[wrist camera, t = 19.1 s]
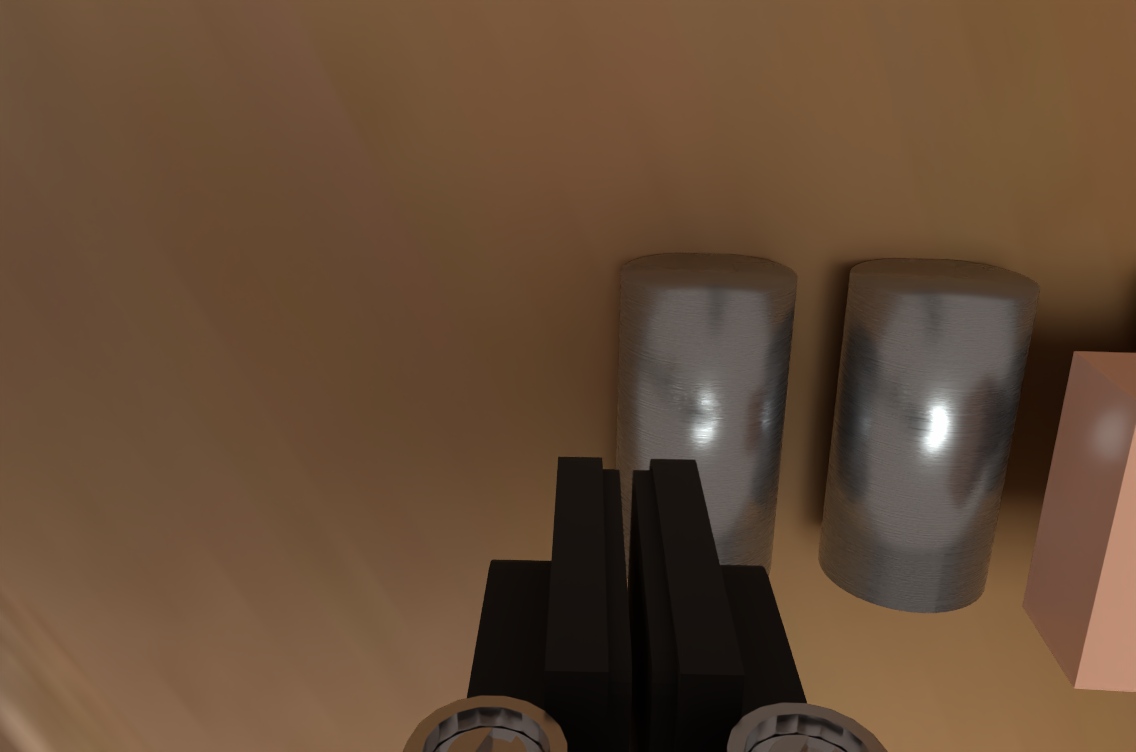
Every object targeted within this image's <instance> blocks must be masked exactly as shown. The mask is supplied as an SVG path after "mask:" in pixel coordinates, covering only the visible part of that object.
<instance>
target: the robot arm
mask: <svg viewBox="0 0 1136 752" xmlns="http://www.w3.org/2000/svg"><path fill="white" fill-rule="evenodd" d="M403 752H887V750H886V749H885V748H884V747H883V745H882V744H881V743H880V742H879V741H878V739H877V738H876V737H875V736H874V734H872V733H871V732H870V731H868V730H867V729H866V728H864V727H863V726H862V725H860V724H859V723H858V722H856V721H855V720H853V719H851V718H849V717H847V716H845V715H842V714H840V713H838V712H836V711H834V710H832V709H828V708H824V707H820V706H816V705H811V704H807V701H806V698H805V695H804V692H803V688H802V685H801V682H800V678H799V675H798V672H797V669H796V665H795V662H794V659H793V656H792V652H791V649H790V646H789V643H788V639H787V636H786V633H785V630H784V626H783V623H782V620H781V617H780V613H779V610H778V607H777V603H776V600H775V597H774V594H773V590H772V587H771V584H770V581H769V577H768V574H767V572H766V570H765V567H763V566H759V565H720V563H719V559H718V554H717V550H716V546H715V541H714V537H713V533H712V528H711V524H710V519H709V515H708V511H707V506H706V502H705V498H704V493H703V489H702V484H701V480H700V476H699V471H698V467H697V463H696V460H689V459H651V460H650V466H649V470H633V477H632V498H631V521H630V544H629V568H628V591H627V577H626V561H625V546H624V530H623V515H622V500H621V484H620V470H613V469H603V467H602V458H591V457H558V470H557V485H556V501H555V516H554V532H553V547H552V561H531V560H492V561H491V563H490V567H489V572H488V578H487V584H486V590H485V595H484V601H483V607H482V613H481V619H480V625H479V630H478V636H477V642H476V648H475V654H474V659H473V665H472V671H471V677H470V683H469V688H468V694H467V698H466V699H461V700H457V701H455V702H453V703H450V704H448V705H446V706H444V707H441V708H439V709H437V710H436V711H434V712H433V713H432V714H430V715H429V716H428V717H427V718H425V719H424V720H423V721H422V722H420V723H419V725H418V726H417V727H416V729H415V730H414V732H413V733H412V735H411V736H410V738H409V739H408V741H407V743H406V745H405V748H404V750H403Z"/></svg>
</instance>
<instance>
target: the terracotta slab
mask: <svg viewBox="0 0 1136 752" xmlns="http://www.w3.org/2000/svg"><path fill="white" fill-rule="evenodd" d="M1023 608H1024V609H1025V611H1026V613H1027V614H1028V616H1029V617H1030V619H1031V620H1032V622H1033V624H1034V625H1035V627H1036V628H1037V630H1038V632H1039V633H1040V635H1041V636H1042V638H1043V640H1044V641H1045V643H1046V644H1047V646H1048V648H1049V649H1050V651H1051V652H1052V654H1053V656H1054V657H1055V659H1056V660H1057V662H1058V663H1059V665H1060V667H1061V668H1062V670H1063V671H1064V673H1065V675H1066V676H1067V678H1068V679H1069V681H1070V683H1071V684H1072V686H1073V687H1074V688H1076V689H1093V690H1110V691H1128V692H1136V353H1119V352H1087V351H1074V354H1073V359H1072V364H1071V369H1070V374H1069V379H1068V384H1067V389H1066V394H1065V398H1064V403H1063V408H1062V413H1061V418H1060V423H1059V428H1058V433H1057V438H1056V443H1055V448H1054V453H1053V458H1052V463H1051V467H1050V472H1049V477H1048V482H1047V487H1046V492H1045V497H1044V502H1043V507H1042V512H1041V517H1040V522H1039V527H1038V532H1037V537H1036V541H1035V546H1034V551H1033V556H1032V561H1031V566H1030V571H1029V576H1028V581H1027V586H1026V591H1025V596H1024V601H1023Z"/></svg>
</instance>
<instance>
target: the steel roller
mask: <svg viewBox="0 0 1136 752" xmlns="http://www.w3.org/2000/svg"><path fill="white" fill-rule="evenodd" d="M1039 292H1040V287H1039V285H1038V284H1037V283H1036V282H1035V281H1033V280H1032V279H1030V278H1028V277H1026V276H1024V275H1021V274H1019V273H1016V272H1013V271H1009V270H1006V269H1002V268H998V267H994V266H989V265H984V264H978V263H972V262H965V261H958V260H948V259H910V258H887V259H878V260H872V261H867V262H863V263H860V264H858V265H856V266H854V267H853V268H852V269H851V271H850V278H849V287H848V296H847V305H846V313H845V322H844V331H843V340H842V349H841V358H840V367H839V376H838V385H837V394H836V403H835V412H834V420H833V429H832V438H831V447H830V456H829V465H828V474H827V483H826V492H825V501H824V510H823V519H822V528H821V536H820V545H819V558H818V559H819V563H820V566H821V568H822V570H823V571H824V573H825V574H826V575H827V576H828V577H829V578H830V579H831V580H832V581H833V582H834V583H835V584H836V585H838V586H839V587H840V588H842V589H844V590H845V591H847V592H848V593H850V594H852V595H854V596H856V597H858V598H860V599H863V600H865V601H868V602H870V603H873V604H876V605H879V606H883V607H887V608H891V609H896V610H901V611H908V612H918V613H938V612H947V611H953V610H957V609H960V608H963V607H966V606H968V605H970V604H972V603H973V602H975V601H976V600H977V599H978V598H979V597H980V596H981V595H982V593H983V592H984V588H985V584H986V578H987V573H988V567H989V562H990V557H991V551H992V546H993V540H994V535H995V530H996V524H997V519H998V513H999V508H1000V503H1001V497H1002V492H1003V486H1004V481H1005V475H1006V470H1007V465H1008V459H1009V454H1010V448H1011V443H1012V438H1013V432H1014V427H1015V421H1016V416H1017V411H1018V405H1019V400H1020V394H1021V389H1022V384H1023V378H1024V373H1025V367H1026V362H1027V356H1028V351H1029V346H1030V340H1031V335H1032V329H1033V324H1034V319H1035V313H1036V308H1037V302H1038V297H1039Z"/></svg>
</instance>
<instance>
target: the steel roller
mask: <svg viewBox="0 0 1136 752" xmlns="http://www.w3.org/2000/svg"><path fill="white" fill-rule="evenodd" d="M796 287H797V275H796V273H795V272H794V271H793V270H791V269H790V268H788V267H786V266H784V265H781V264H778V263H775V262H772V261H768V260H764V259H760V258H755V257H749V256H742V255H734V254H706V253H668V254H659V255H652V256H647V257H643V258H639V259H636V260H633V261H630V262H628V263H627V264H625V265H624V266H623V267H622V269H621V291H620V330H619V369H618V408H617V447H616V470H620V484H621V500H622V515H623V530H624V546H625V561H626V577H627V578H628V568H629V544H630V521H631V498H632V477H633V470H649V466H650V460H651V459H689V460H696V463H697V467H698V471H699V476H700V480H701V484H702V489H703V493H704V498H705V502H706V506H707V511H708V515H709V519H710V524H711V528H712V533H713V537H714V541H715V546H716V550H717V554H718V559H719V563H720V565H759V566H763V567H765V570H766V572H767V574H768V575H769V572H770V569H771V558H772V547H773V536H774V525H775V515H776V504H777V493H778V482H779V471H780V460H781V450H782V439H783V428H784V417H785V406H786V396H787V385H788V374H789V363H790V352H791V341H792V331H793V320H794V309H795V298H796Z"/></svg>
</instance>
